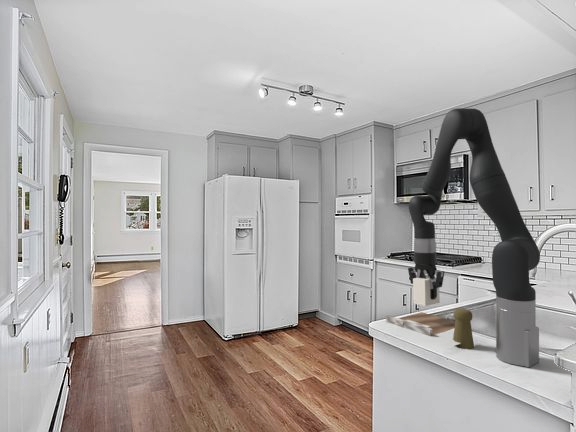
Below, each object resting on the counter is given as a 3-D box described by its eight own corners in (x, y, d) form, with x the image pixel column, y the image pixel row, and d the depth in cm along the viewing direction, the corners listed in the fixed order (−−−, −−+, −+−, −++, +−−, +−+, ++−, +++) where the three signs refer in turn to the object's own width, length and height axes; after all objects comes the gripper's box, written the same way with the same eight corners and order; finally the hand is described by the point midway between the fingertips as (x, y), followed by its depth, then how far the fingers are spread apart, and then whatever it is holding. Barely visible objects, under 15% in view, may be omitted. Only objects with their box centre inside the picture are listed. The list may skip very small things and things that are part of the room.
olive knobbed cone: (478, 348, 106) (477, 312, 106) (457, 349, 106) (457, 312, 106) (468, 341, 112) (468, 306, 112) (448, 341, 113) (448, 306, 112)
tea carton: (425, 306, 125) (424, 280, 125) (413, 303, 129) (412, 278, 129) (439, 302, 129) (438, 277, 129) (427, 300, 133) (426, 276, 133)
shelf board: (465, 328, 124) (465, 318, 124) (429, 340, 113) (429, 329, 113) (421, 316, 139) (421, 307, 139) (385, 325, 128) (385, 316, 128)
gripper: (449, 251, 125) (450, 299, 125) (415, 248, 137) (416, 292, 137) (436, 253, 121) (437, 303, 121) (402, 250, 133) (403, 295, 133)
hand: (426, 297), depth 129 cm, fingers closed on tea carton, 5 cm apart
